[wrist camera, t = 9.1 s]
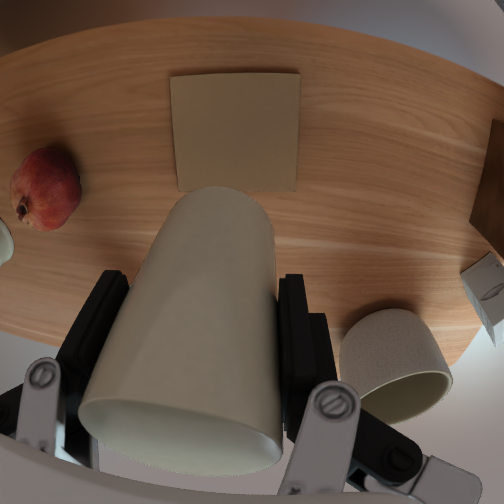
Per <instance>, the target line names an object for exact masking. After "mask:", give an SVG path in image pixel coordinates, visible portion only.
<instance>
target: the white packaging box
mask: <svg viewBox="0 0 504 504" xmlns="http://www.w3.org/2000/svg"><path fill="white" fill-rule="evenodd" d="M460 275H461V278H462V281H463V284H464V287H465V290H466V293H467V296H468V299H469V300H470V302H471V304H472V305H473V307H474V309H475V311H476V312H477V314H478V316H479V318H480V319H481V321H482V323H483V325H484V326H485V328H486V330H487V332H488V334H489V335H490V337H491V339H492V341H493V344H494V346H495V347H497V346H499V345H500V344H501V343H503V342H504V267H503V266H502V264H501V263H500V262H499V261H498V259H497V258H496V257H495V256H494V254H493V253H492V252H490V253H489V254H488V255H486V256H485V257H484V258H482V259H481V260H480V261H478V262H477V263H476V264H474V265H473V266H471V267H470V268H468V269H467V270H465V271H464V272H462V273H461V274H460Z"/></svg>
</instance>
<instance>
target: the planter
mask: <svg viewBox="0 0 504 504" xmlns="http://www.w3.org/2000/svg"><path fill="white" fill-rule="evenodd" d="M339 368H340V378H341V382H344V383H347V384H349V385H350V386H352V387H353V388H354V389H355V390H356V391H357V393H358V394H359V397H360V399H361V408H363V409H364V410H366V411H367V412H369V413H370V414H372V415H373V416H375V417H376V418H378V419H379V420H381V421H382V422H384V423H385V424H387V425H389V426H392V425H396V424H400V423H403V422H406V421H408V420H410V419H413V418H415V417H417V416H419V415H421V414H423V413H425V412H427V411H428V410H429V409H431V408H433V407H434V406H435V405H437V404H438V403H439V402H440V401H441V400H442V399H443V398H444V397H445V396H446V395H447V394H448V392H449V391H450V389H451V386H452V384H453V378H452V375H451V372H450V370H449V368H448V365H447V363H446V361H445V359H444V357H443V355H442V353H441V350H440V348H439V346H438V344H437V342H436V340H435V338H434V336H433V335H432V333H431V331H430V329H429V328H428V326H427V325H426V324H425V322H424V321H423V320H422V319H421V318H420V317H419V316H418V315H416V314H414V313H412V312H410V311H407V310H403V309H385V310H380V311H377V312H374V313H372V314H369V315H367V316H366V317H364V318H362V319H361V320H360V321H358V322H357V323H356V324H355V325H354V326H353V327H352V328H351V329H350V330H349V331H348V333H347V334H346V335H345V337H344V339H343V341H342V344H341V347H340V352H339Z"/></svg>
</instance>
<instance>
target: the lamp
mask: <svg viewBox="0 0 504 504" xmlns="http://www.w3.org/2000/svg"><path fill="white" fill-rule="evenodd" d="M13 251H14V243H13V240H12V237H11V235H10V232H9V230H8V229H7V227H6V225H5V224H4V223H3V222H2V220H1V219H0V266H1V265H2V264H3V263H4V262H5V261H7V260H9V259H10V258H11V257H12V254H13Z"/></svg>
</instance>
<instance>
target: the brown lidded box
mask: <svg viewBox="0 0 504 504" xmlns="http://www.w3.org/2000/svg"><path fill="white" fill-rule="evenodd" d="M469 222H470V223H471V224H472V225H473V226H474V227H475V228H476V229H477V230H478V232H479V233H480V234H481V235H482V236H483V237H484V238H485V239H486V240H487V241H488V242H489V243H490V244H491V246H492V247H493V248H494V249H495V250H496V251H497V252H498V253H499V255H500V256H501V257H502V258H503V259H504V122H501V121H498V120H495V119H493V121H492V128H491V134H490V139H489V145H488V150H487V155H486V160H485V164H484V169H483V173H482V177H481V181H480V185H479V189H478V193H477V196H476V200H475V204H474V207H473V210H472V214H471V217H470V220H469Z"/></svg>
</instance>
